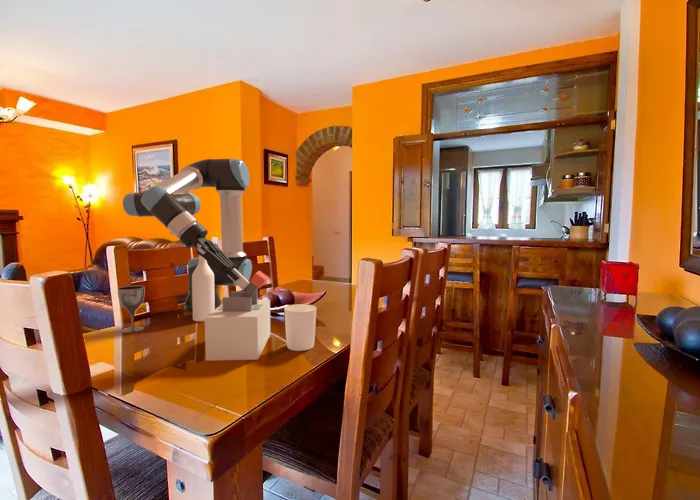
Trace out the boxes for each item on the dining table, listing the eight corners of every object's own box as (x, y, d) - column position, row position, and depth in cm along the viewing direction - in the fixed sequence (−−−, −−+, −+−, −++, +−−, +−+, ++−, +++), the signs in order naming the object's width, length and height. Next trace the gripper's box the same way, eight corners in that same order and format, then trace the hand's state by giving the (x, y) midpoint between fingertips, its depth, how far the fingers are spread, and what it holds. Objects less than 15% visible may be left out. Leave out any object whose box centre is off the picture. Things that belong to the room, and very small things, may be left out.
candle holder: (310, 353, 99) (310, 312, 99) (279, 350, 101) (278, 310, 100) (320, 342, 109) (320, 305, 108) (291, 339, 111) (291, 303, 110)
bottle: (194, 316, 138) (192, 242, 135) (215, 315, 140) (214, 242, 138) (191, 322, 130) (189, 243, 128) (214, 320, 132) (212, 243, 130)
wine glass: (114, 330, 119) (112, 288, 118) (137, 325, 126) (136, 284, 125) (127, 334, 115) (125, 290, 114) (150, 328, 122) (149, 286, 121)
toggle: (238, 298, 107) (259, 270, 107) (248, 305, 107) (268, 277, 107) (233, 303, 101) (255, 273, 101) (243, 310, 101) (265, 280, 101)
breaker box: (228, 335, 115) (227, 288, 114) (270, 334, 116) (269, 287, 115) (205, 360, 93) (204, 302, 92) (257, 359, 94) (257, 302, 93)
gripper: (188, 239, 107) (242, 291, 109) (169, 240, 94) (231, 299, 97) (205, 222, 107) (259, 275, 110) (189, 221, 95) (250, 281, 97)
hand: (246, 286), depth 103 cm, fingers closed
